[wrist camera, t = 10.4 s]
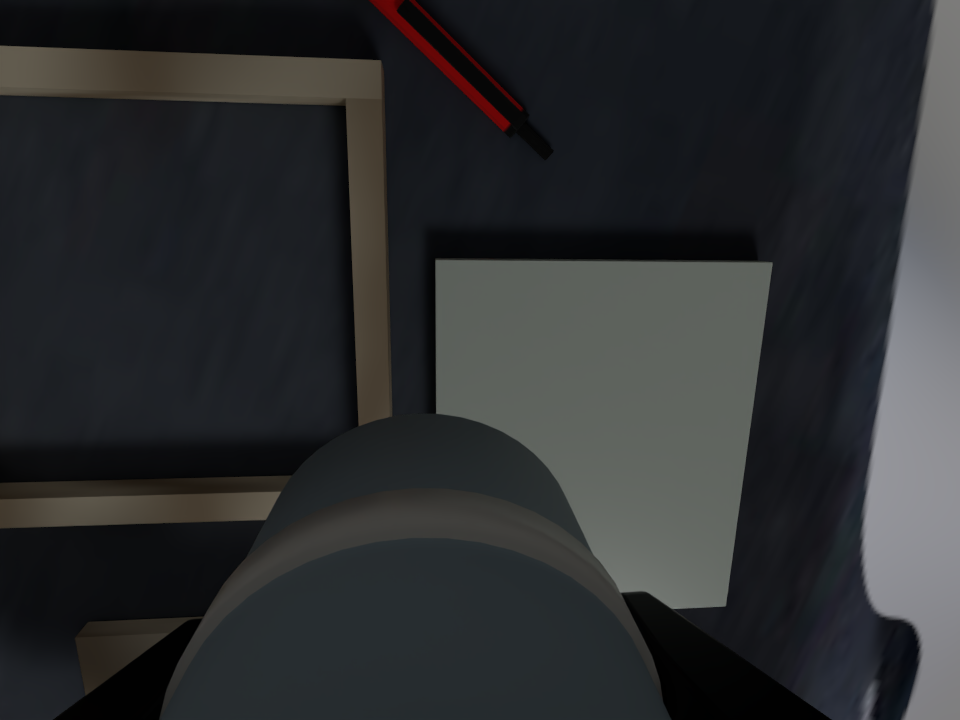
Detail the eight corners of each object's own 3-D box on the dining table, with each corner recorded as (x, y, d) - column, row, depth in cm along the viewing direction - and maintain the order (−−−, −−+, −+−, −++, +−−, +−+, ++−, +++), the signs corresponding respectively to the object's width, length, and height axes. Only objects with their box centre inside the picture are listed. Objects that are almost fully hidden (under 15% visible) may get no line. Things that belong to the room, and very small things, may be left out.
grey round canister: (273, 704, 10) (43, 1435, 4) (239, 412, 8) (-186, 863, 3) (576, 682, 10) (773, 1313, 4) (589, 401, 9) (894, 768, 3)
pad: (436, 605, 22) (437, 620, 21) (435, 258, 19) (435, 259, 18) (715, 593, 23) (725, 606, 22) (759, 260, 20) (772, 262, 19)
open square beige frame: (-27, 511, 19) (-56, 529, 18) (-129, 51, 16) (-173, 39, 15) (394, 498, 21) (392, 515, 19) (383, 71, 17) (380, 60, 16)
